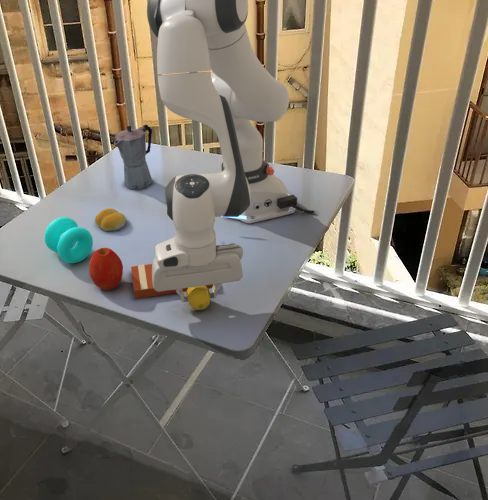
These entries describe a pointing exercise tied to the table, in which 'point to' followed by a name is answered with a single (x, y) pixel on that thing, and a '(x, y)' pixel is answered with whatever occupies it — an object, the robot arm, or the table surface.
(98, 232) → the table surface
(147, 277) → the tea towel
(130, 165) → the moka pot
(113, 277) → the apple
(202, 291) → the lemon
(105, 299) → the table surface
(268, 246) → the table surface
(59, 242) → the donuts
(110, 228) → the bread roll
